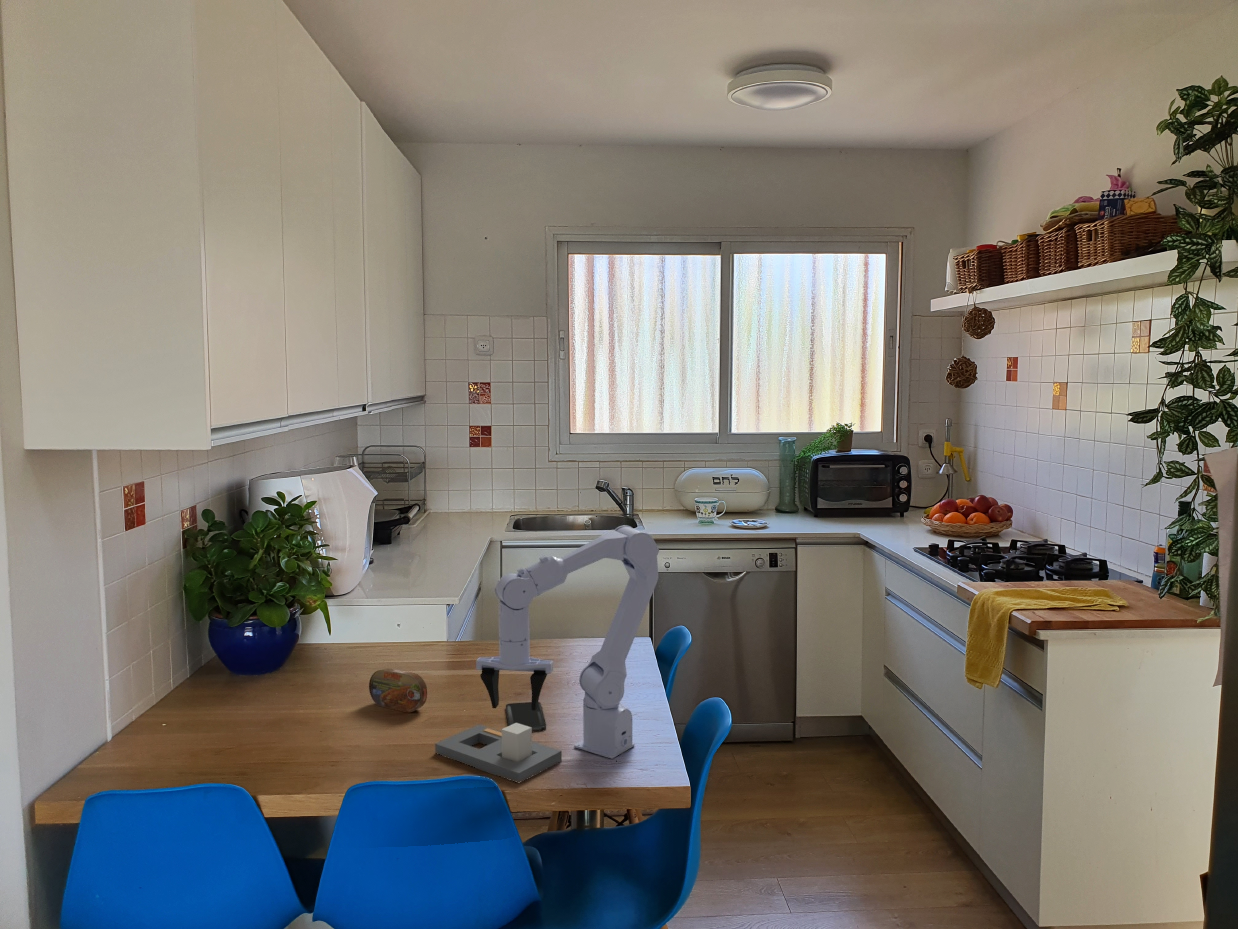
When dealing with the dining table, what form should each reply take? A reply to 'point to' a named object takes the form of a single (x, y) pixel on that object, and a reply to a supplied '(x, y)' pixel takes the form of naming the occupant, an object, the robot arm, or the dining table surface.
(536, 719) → the phone
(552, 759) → the socket plate
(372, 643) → the dining table surface
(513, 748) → the plug
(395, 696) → the tin
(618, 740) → the robot arm
